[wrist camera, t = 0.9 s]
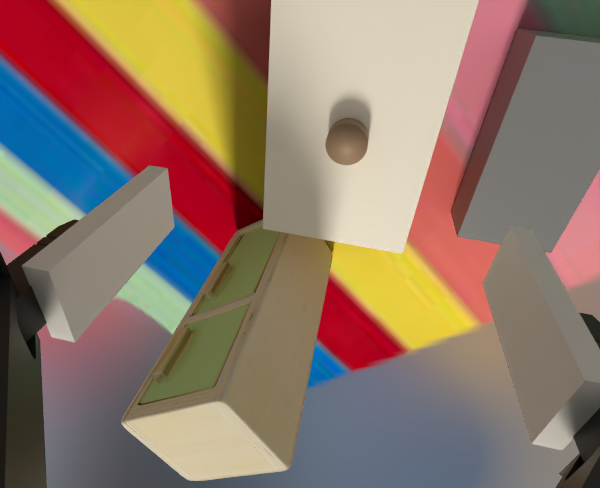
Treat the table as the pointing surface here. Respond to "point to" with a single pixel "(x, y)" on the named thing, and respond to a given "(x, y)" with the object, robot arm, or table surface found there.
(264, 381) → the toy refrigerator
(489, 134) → the block
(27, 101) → the table surface
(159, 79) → the table surface
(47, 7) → the table surface
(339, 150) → the lid
